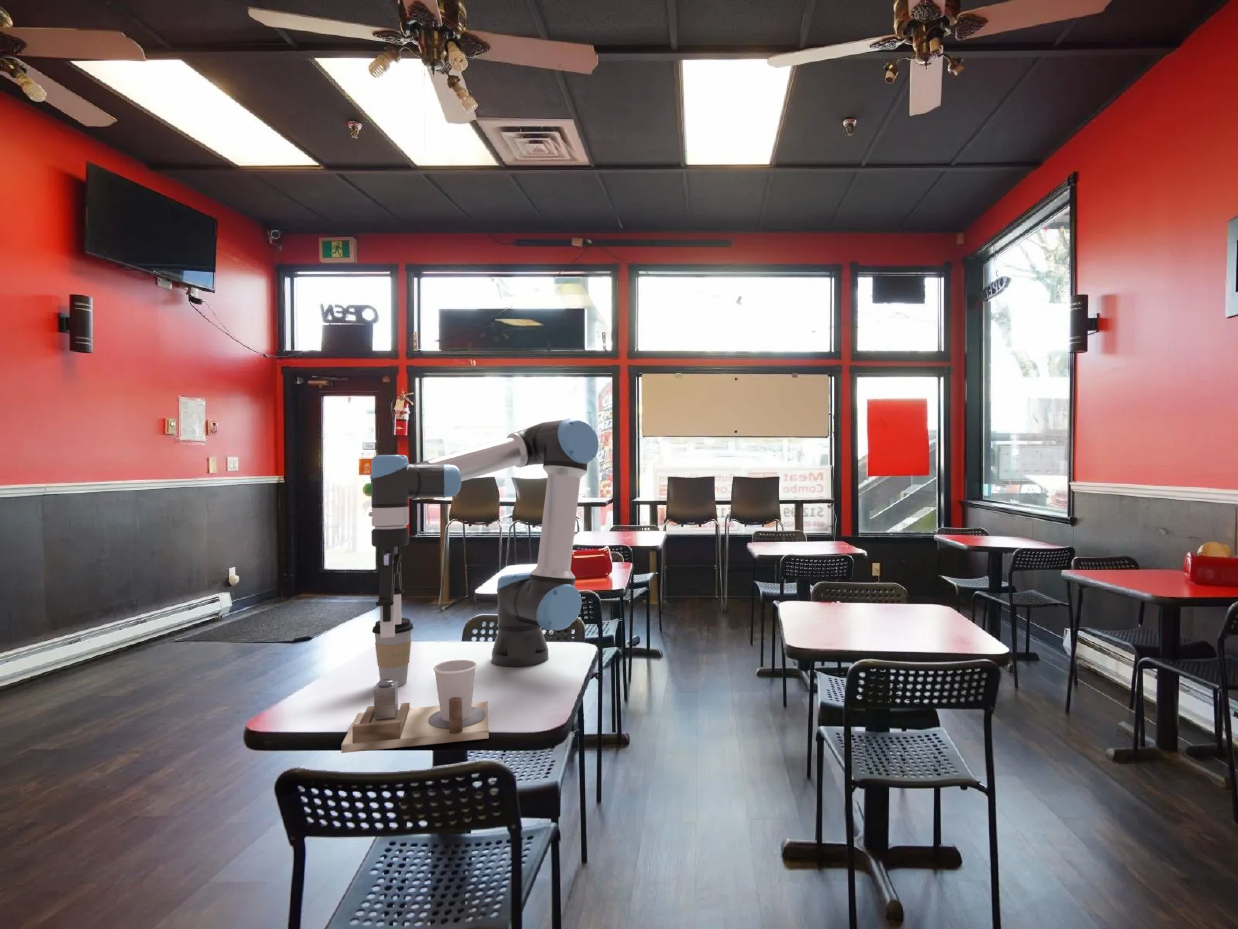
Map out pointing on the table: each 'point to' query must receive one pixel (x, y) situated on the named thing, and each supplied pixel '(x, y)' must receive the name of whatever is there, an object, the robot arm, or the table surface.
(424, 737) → the board
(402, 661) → the coffee cup
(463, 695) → the dixie cup
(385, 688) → the grey square bottle
